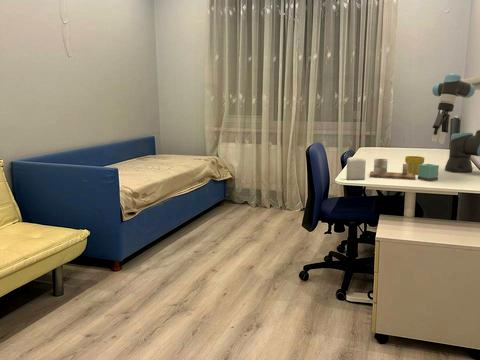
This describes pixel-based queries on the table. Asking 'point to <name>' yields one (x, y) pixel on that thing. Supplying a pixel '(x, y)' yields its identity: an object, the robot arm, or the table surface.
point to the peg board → (381, 172)
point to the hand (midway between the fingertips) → (437, 142)
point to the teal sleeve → (428, 172)
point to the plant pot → (413, 163)
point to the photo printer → (356, 168)
